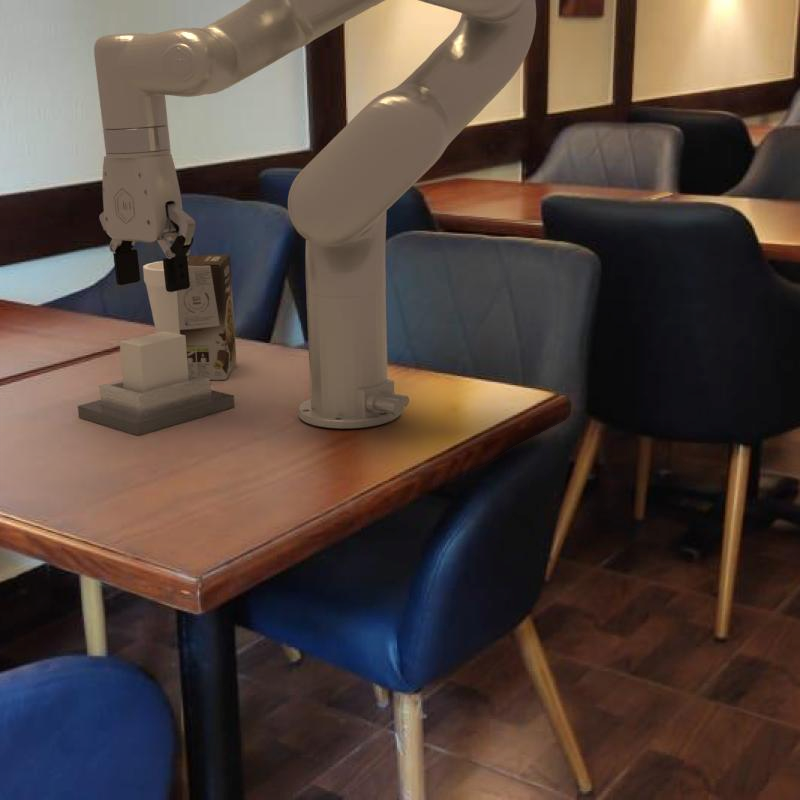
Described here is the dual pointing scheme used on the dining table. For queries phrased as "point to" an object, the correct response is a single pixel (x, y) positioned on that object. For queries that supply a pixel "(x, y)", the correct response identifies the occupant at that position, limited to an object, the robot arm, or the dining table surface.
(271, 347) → the dining table surface
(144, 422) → the duct collar
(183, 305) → the coffee box
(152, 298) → the foam cup
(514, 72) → the robot arm
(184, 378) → the cream rectangular block
